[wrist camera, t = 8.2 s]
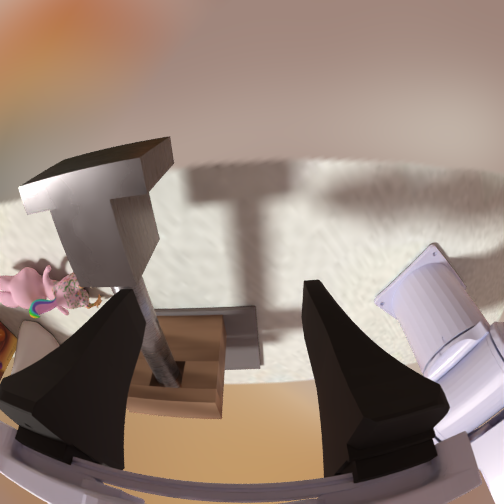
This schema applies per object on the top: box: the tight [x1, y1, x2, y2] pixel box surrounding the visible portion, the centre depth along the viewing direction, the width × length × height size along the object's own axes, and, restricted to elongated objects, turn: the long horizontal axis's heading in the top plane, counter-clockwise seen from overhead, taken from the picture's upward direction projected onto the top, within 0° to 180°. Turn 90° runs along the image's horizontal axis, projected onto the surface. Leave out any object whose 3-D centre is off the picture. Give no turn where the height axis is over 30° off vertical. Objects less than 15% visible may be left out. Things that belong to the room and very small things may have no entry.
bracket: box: [126, 315, 227, 419], centre depth 23 cm, size 3×8×9 cm, turn 94°
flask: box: [11, 320, 60, 375], centre depth 26 cm, size 7×7×10 cm
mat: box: [154, 306, 260, 370], centre depth 28 cm, size 10×14×1 cm
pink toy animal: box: [0, 265, 102, 318], centre depth 22 cm, size 6×6×15 cm
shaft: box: [19, 137, 183, 388], centre depth 17 cm, size 18×7×4 cm, turn 4°
